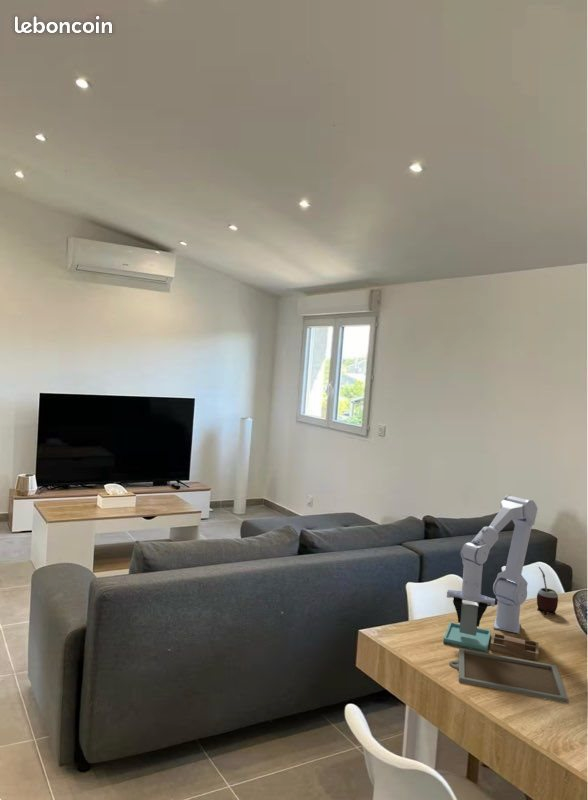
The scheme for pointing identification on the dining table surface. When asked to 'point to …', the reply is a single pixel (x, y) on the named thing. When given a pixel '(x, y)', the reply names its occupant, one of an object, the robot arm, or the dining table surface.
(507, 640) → the offcut upper
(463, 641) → the tray
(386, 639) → the dining table surface
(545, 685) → the gray framed board
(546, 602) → the mate gourd
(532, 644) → the rack
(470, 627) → the slate gray block
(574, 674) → the dining table surface
